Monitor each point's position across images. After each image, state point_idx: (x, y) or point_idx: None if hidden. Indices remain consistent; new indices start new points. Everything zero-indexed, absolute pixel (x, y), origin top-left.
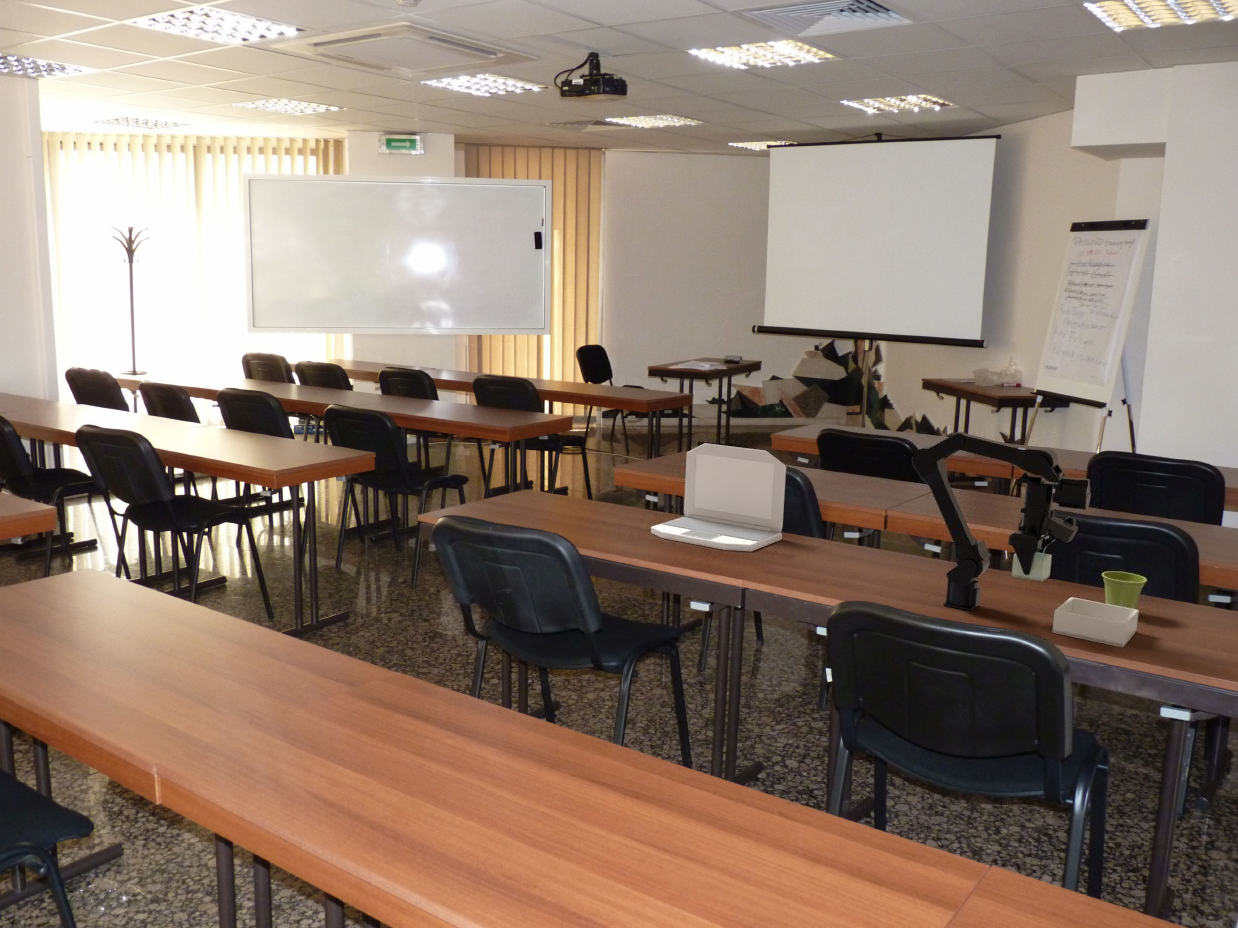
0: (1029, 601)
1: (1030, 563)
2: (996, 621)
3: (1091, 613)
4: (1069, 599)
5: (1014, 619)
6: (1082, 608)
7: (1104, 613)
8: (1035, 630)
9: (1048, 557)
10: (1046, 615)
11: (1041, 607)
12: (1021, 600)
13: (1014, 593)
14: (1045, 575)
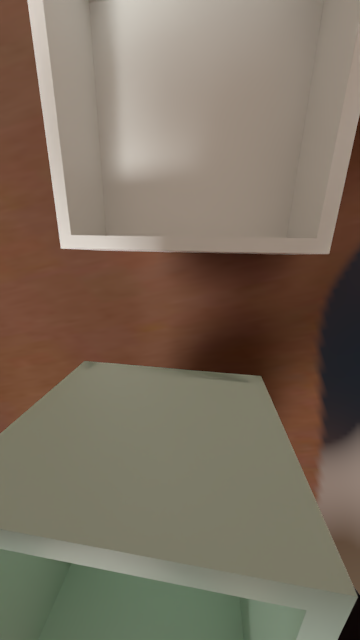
0: (37, 364)
1: (357, 598)
2: (273, 396)
3: (89, 167)
4: (101, 244)
5: (223, 364)
6: (86, 200)
7: (79, 107)
8: (298, 299)
9: (74, 528)
10: (124, 306)
11: (62, 332)
12: (44, 380)
13: (4, 402)
14: (177, 383)
